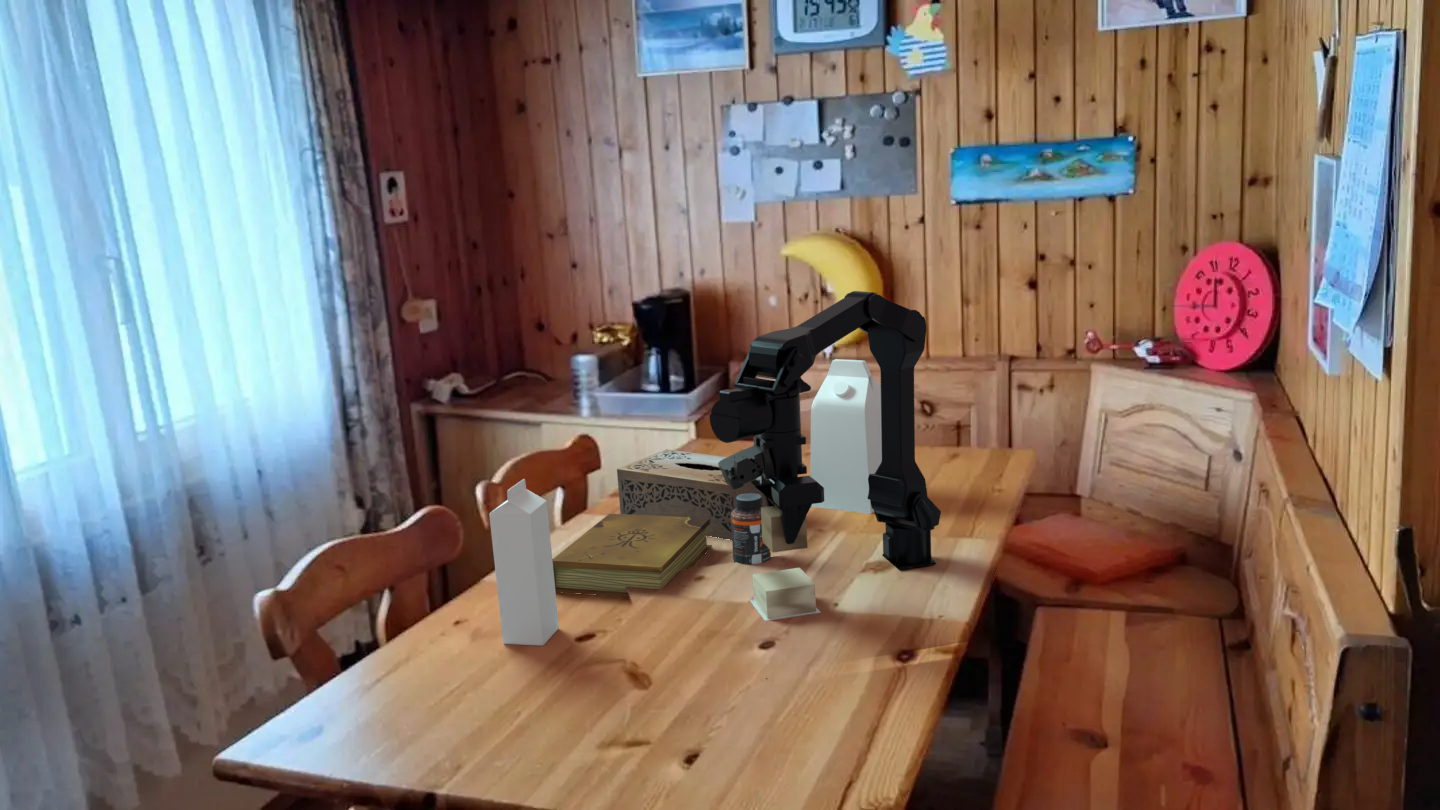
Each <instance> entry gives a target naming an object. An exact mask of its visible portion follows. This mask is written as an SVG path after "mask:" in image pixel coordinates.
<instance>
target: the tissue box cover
mask: <svg viewBox="0 0 1440 810" xmlns="http://www.w3.org/2000/svg"><path fill="white" fill-rule="evenodd" d="M727 457H728V456H722V455H715V454H713V455H712V454H705V453H699V452H693V451H692V452H689V451H682V450H675V449H668V448H667V449H664V450H661V451H659V452H657V453H654V454H652V455H649V456H647V457H644V458H641V459H639V460H636V461H634V462H632V463H629V464H627V465H624V466H621V467H619V468H617V469H616V473H617V474H616V476H617V487H618V497H619V499H618V501H619V512H620V513H619V514H629V515H651V516H674V517H696V518H710V524H709V525H708V526H707V527H706V536H712V537H717V538H716V539H718V537H719V538H723V539H722V540H724V539H730V540H732V528H731V513H732V511H733V510H734V509H736V508H737V505H736V497H737V496H739V495H741V494H748V493H753V494H759V495H761V496H762V506H763V507H767V504H766V501H765V498H764V495H763V493H761V492H760V491H759V490H758V489H757V488H756V487H755V486H754V485H752V484H751V481H750V482H748V483H746V484H744V485H743V487H741V488H738V489H732V488H731V487H730V486H729V485H728V484H727V483H726V481H725V479H724V476H723V474H722V472H721V469H720V467H719V465H718V463H719V462H720V461H721V460H723V459H725V458H727ZM754 480H756V479H754ZM752 481H753V480H752ZM712 537H711V538H712Z"/></svg>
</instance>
